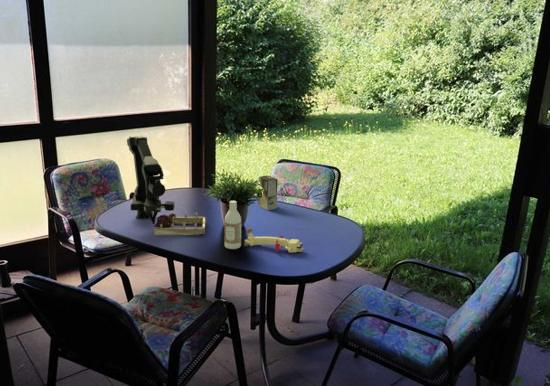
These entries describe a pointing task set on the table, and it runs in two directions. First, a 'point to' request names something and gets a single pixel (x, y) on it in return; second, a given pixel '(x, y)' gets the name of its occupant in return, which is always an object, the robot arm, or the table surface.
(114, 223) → the table surface
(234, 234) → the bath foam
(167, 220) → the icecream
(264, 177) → the coffee box
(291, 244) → the yellow toy animal
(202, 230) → the dish rack
